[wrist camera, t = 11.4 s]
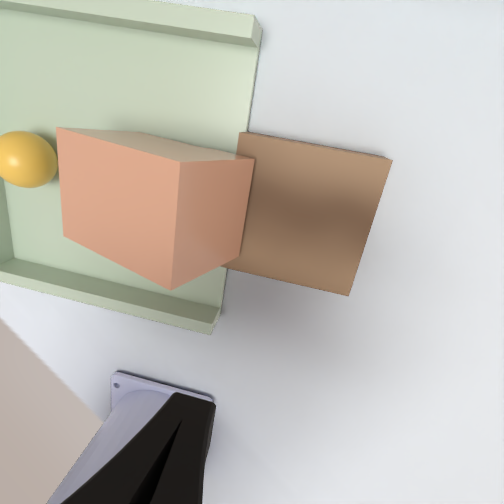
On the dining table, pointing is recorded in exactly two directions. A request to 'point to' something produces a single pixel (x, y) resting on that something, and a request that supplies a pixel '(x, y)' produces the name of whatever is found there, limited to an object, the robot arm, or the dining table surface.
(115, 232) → the brown u-shaped block
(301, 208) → the coaster
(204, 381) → the dining table surface
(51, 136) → the tray
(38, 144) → the ball
